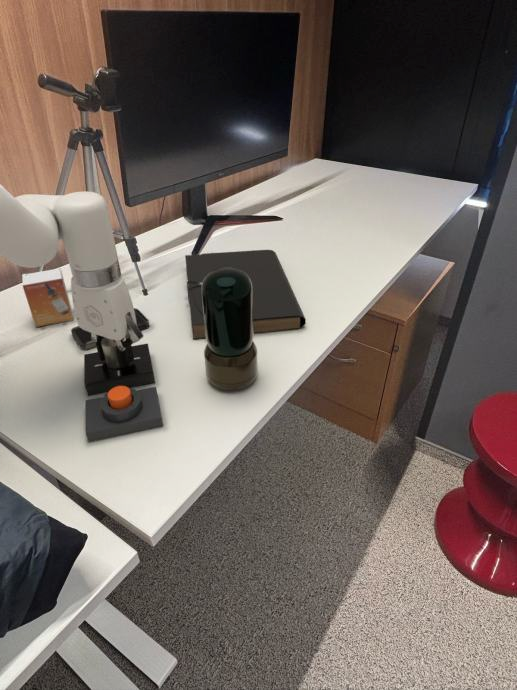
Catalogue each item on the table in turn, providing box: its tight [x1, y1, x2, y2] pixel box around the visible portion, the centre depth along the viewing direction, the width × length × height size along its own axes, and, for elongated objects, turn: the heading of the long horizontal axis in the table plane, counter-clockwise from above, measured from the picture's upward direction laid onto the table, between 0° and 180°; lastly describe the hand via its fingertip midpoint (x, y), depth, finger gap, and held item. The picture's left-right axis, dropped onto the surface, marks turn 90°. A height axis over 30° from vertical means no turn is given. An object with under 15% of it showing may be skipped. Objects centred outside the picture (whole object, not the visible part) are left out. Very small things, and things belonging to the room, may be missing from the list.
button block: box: [84, 386, 164, 443], centre depth 80 cm, size 12×8×4 cm, turn 106°
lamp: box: [201, 267, 258, 391], centre depth 84 cm, size 10×10×22 cm
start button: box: [108, 386, 132, 409], centre depth 79 cm, size 4×4×2 cm
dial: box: [101, 337, 125, 369], centre depth 88 cm, size 4×4×5 cm
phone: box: [70, 307, 150, 351], centre depth 103 cm, size 8×1×15 cm
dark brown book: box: [184, 249, 307, 340], centre depth 113 cm, size 33×4×24 cm
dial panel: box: [83, 343, 156, 397], centre depth 90 cm, size 12×9×3 cm
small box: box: [21, 267, 74, 328], centre depth 104 cm, size 8×6×10 cm
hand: (117, 359), depth 89 cm, fingers closed on dial, 4 cm apart
